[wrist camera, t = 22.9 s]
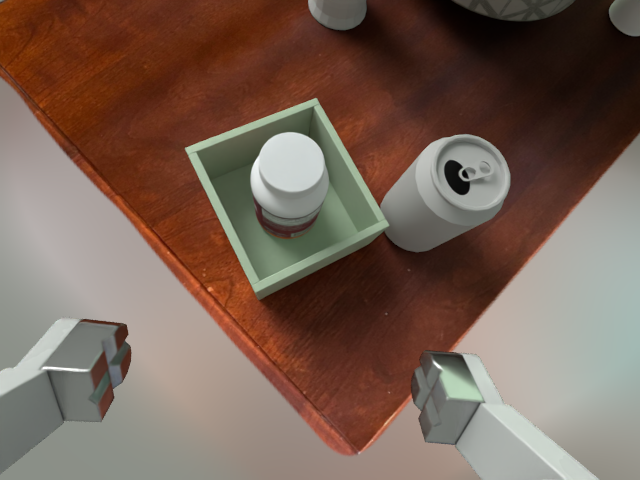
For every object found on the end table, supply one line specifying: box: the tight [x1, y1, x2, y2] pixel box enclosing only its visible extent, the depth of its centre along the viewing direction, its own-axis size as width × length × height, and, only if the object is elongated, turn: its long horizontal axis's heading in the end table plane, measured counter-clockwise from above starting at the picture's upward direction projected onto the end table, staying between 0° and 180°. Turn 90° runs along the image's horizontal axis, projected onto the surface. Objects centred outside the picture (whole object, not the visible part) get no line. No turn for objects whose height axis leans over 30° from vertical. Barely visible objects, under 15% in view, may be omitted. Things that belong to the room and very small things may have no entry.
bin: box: [185, 98, 389, 300], centre depth 33 cm, size 13×12×7 cm
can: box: [380, 134, 510, 252], centre depth 32 cm, size 8×8×12 cm
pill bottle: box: [251, 132, 329, 239], centre depth 30 cm, size 6×6×11 cm
